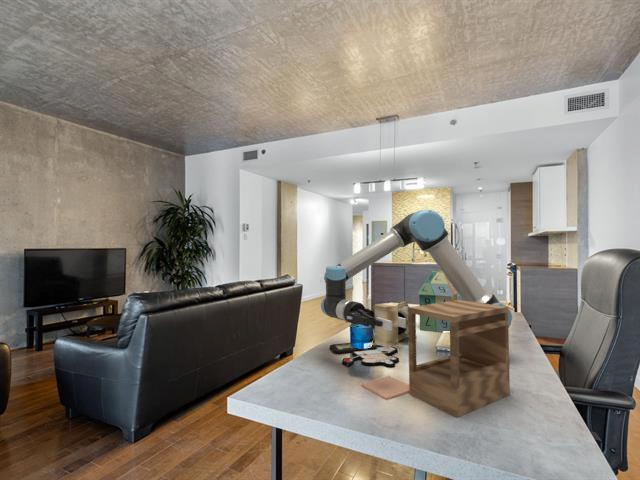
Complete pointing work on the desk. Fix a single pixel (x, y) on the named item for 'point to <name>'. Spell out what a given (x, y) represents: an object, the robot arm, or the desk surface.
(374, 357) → the sign
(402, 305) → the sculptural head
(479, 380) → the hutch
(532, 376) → the desk surface
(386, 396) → the terracotta tile
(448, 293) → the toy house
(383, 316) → the beech block
